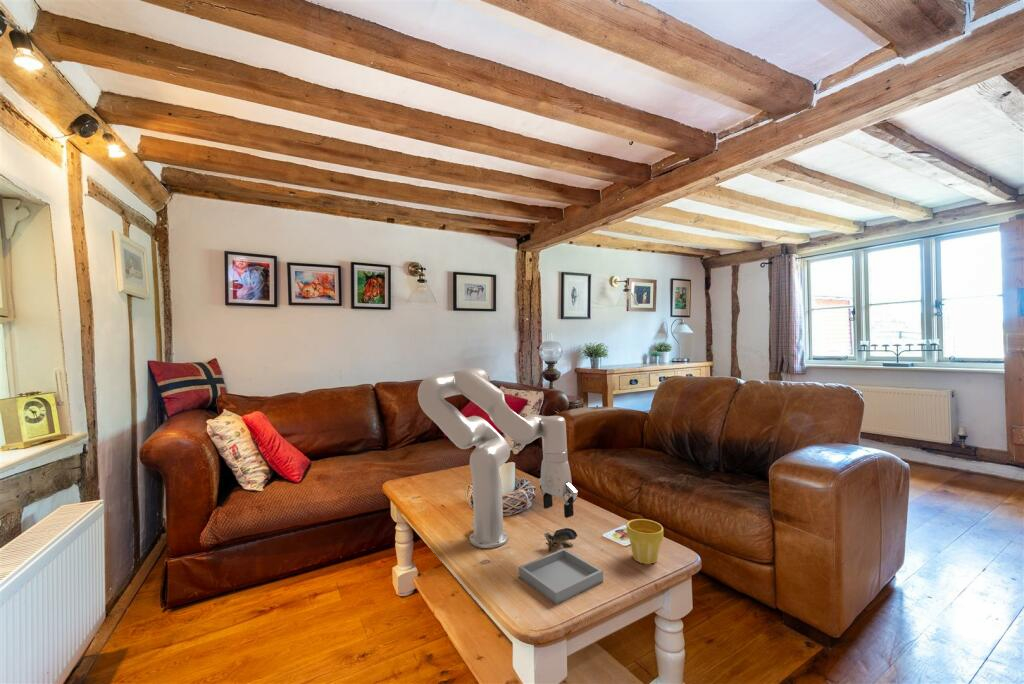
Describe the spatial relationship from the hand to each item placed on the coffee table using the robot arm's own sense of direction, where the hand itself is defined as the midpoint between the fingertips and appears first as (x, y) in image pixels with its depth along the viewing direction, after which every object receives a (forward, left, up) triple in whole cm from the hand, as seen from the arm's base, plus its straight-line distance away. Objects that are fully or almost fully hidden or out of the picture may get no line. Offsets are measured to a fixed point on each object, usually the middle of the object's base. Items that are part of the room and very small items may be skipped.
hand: (558, 511), depth 135 cm
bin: (+12, -10, -12) cm, 20 cm away
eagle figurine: (-1, +1, -12) cm, 12 cm away
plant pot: (+19, +17, -12) cm, 28 cm away
